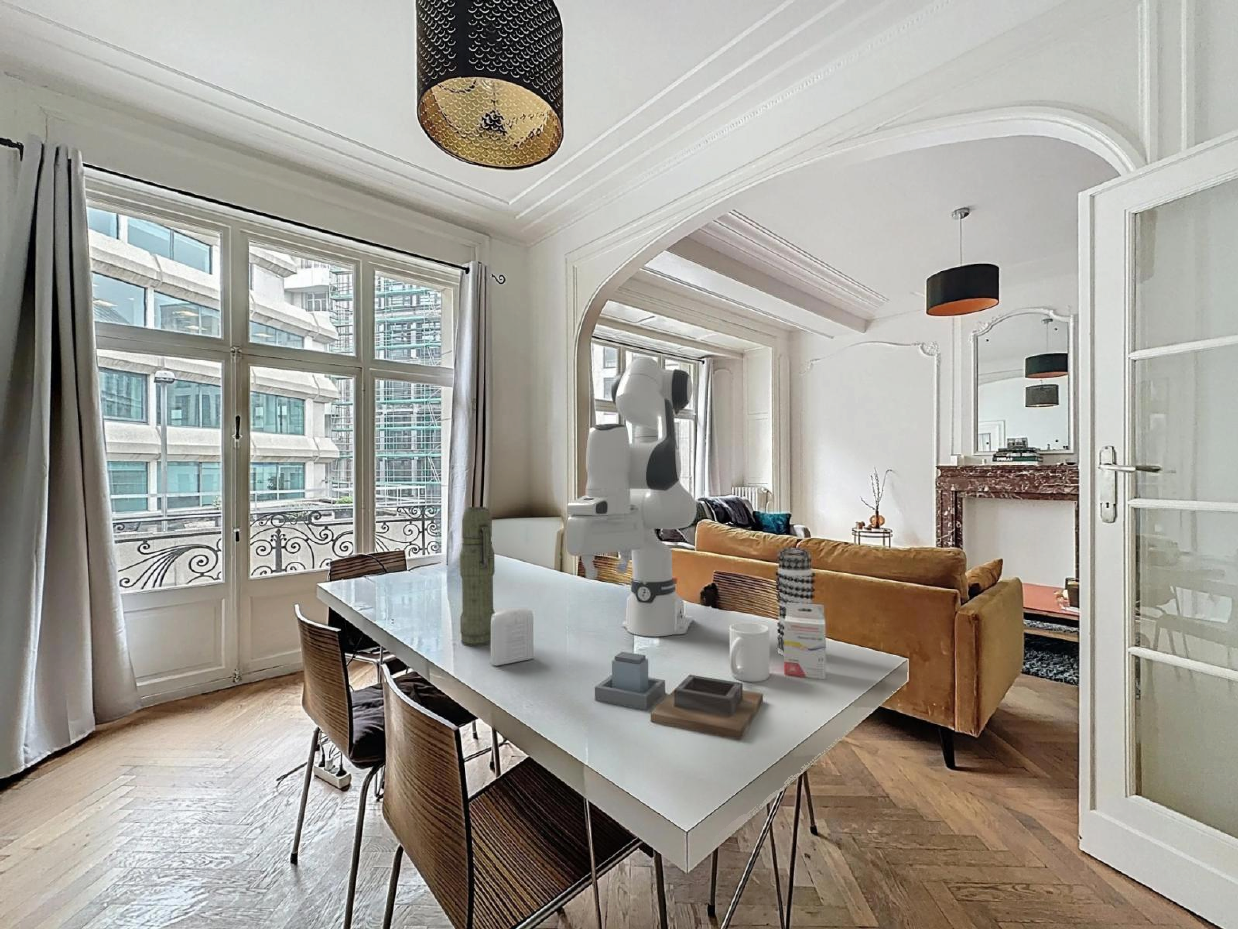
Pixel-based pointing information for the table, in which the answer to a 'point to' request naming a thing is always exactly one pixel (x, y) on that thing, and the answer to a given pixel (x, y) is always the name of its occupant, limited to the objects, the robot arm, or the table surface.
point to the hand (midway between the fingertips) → (607, 575)
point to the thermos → (476, 576)
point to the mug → (749, 652)
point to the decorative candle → (793, 584)
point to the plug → (630, 672)
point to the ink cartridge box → (805, 641)
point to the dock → (709, 707)
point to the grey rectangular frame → (630, 694)
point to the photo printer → (511, 636)
